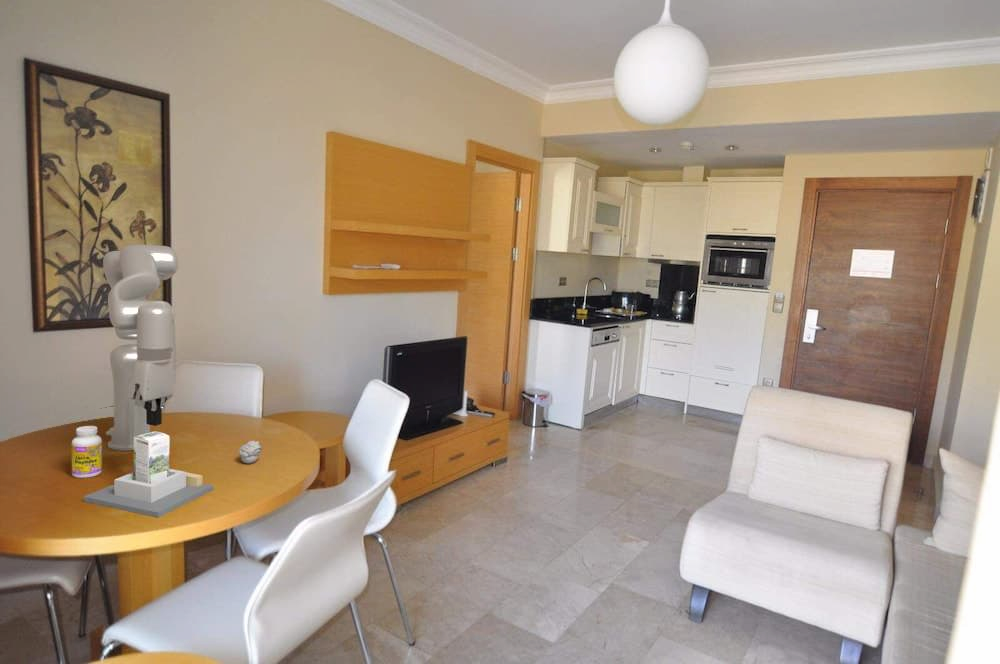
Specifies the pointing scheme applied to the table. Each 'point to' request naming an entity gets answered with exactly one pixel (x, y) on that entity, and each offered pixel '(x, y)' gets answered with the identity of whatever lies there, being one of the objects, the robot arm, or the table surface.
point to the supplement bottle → (86, 452)
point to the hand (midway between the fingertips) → (154, 424)
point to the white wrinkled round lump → (250, 452)
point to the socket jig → (151, 493)
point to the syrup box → (151, 457)
